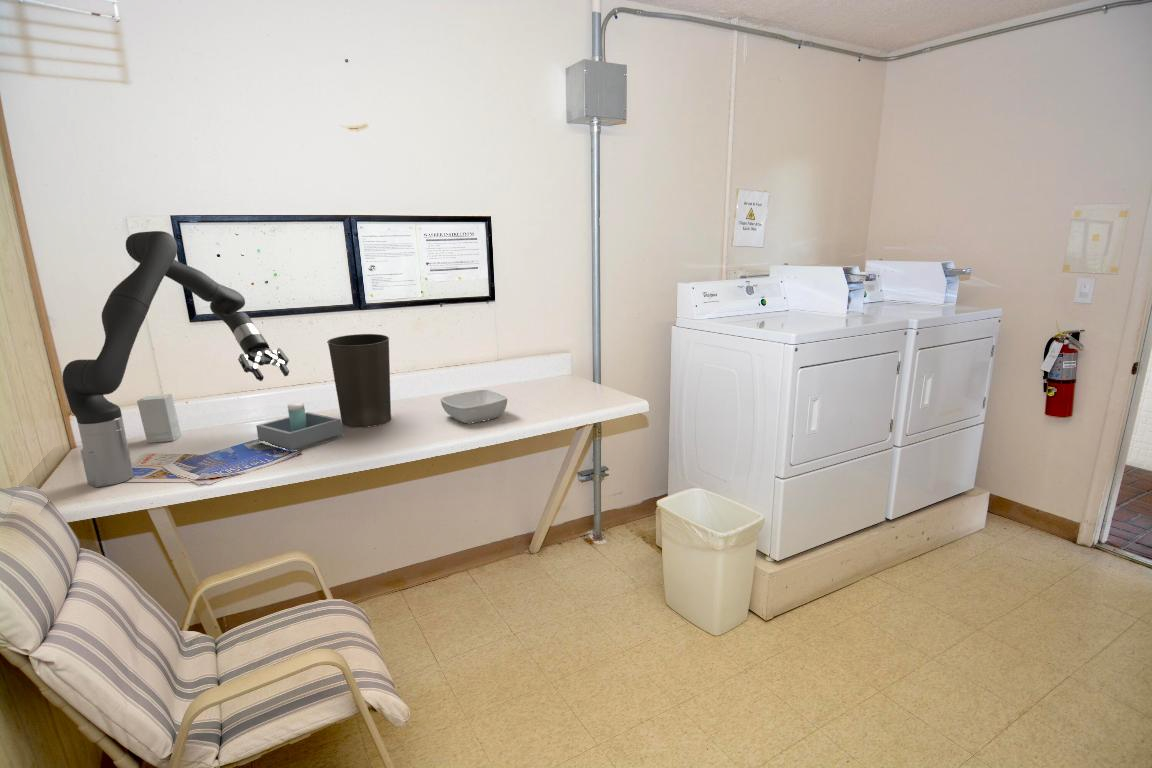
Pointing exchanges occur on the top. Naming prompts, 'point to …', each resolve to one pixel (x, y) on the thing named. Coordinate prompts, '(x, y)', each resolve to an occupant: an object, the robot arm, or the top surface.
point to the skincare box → (159, 418)
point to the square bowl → (474, 405)
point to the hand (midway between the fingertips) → (274, 377)
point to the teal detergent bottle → (297, 416)
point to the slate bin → (300, 432)
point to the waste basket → (362, 378)
